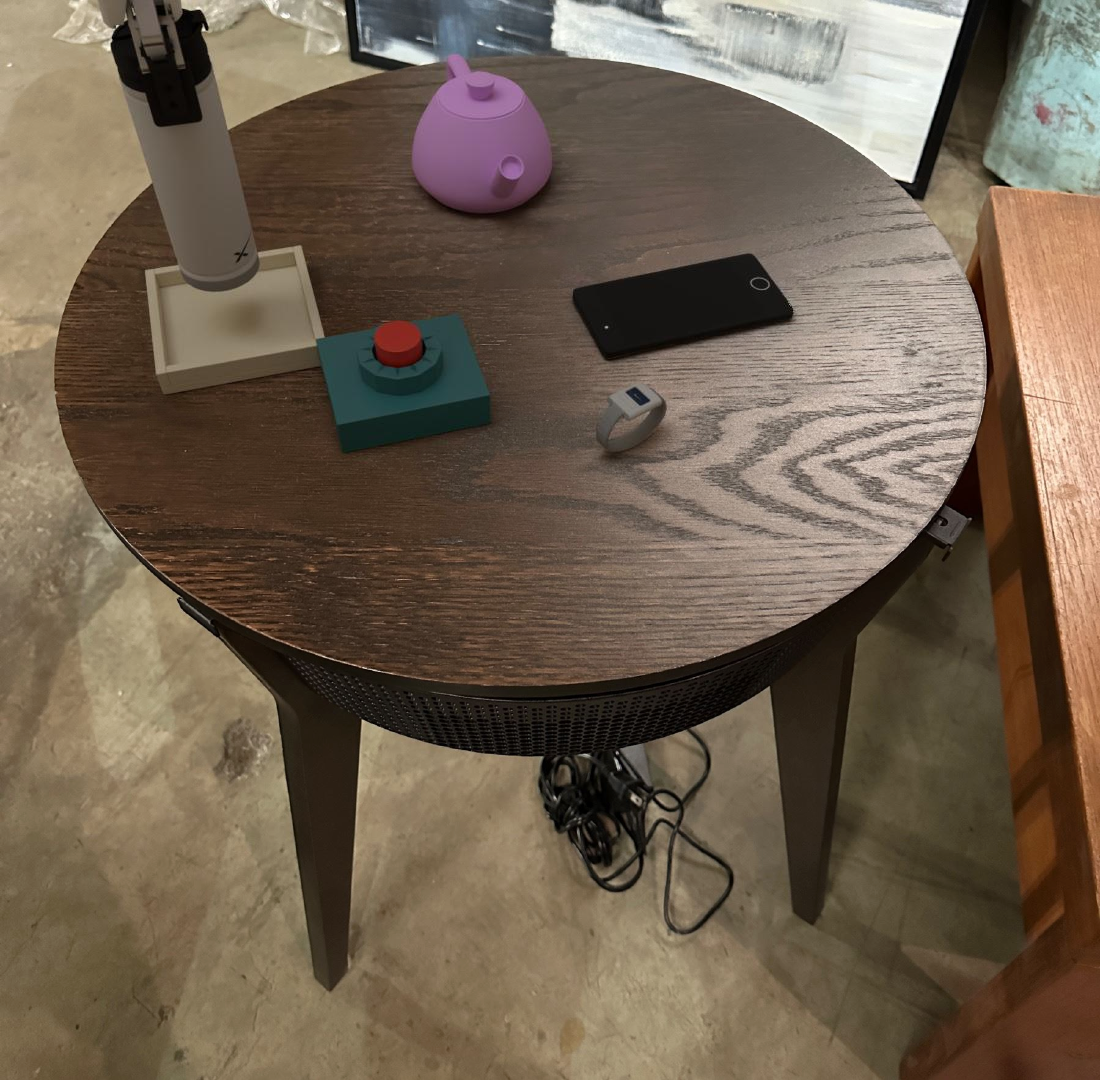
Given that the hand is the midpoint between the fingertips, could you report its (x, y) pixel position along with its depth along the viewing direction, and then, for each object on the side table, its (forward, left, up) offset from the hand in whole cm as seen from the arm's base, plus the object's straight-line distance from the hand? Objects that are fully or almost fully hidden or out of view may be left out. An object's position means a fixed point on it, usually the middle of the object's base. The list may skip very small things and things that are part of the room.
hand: (174, 93), depth 72 cm
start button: (+12, -12, -17) cm, 24 cm away
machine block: (+12, -12, -21) cm, 27 cm away
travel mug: (0, 0, -15) cm, 15 cm away
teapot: (+26, +15, -21) cm, 37 cm away
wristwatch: (+28, -22, -21) cm, 42 cm away
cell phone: (+38, -8, -21) cm, 44 cm away
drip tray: (0, 0, -21) cm, 21 cm away
